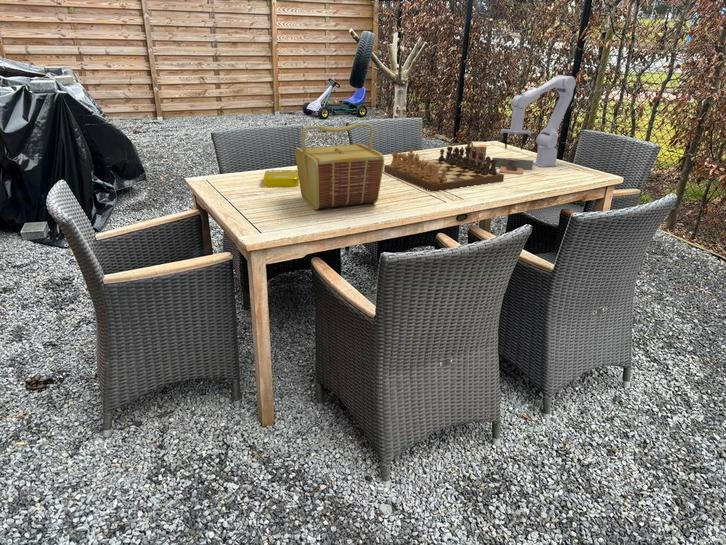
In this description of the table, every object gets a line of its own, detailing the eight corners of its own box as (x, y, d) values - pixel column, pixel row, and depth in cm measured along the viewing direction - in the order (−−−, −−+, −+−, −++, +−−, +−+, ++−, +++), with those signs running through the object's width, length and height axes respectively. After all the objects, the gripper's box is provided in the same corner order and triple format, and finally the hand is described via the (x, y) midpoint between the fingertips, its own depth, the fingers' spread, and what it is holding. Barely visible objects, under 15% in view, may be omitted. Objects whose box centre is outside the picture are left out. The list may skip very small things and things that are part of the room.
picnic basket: (314, 215, 189) (311, 132, 176) (294, 196, 210) (290, 121, 197) (385, 207, 199) (388, 128, 187) (359, 189, 221) (360, 117, 208)
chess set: (432, 193, 219) (435, 158, 213) (384, 172, 251) (385, 141, 245) (503, 182, 237) (507, 150, 231) (449, 164, 269) (452, 135, 263)
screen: (532, 169, 259) (533, 160, 257) (532, 169, 258) (533, 161, 256) (491, 166, 264) (492, 157, 262) (491, 166, 263) (492, 157, 261)
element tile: (263, 188, 222) (263, 177, 220) (265, 179, 236) (265, 169, 234) (298, 187, 224) (298, 176, 222) (298, 178, 237) (298, 168, 235)
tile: (522, 169, 258) (523, 167, 258) (522, 174, 249) (522, 173, 248) (500, 167, 261) (500, 166, 261) (499, 172, 252) (499, 171, 251)
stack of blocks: (467, 161, 274) (469, 137, 269) (478, 161, 274) (481, 138, 268) (471, 171, 255) (473, 145, 250) (483, 171, 254) (486, 146, 249)
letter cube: (516, 168, 256) (518, 158, 254) (516, 170, 252) (517, 160, 250) (506, 167, 258) (507, 157, 256) (506, 170, 253) (507, 159, 251)
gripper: (501, 121, 251) (498, 149, 257) (532, 123, 248) (528, 151, 253) (502, 119, 257) (499, 146, 263) (532, 120, 254) (528, 148, 259)
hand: (513, 148), depth 259 cm, fingers open, 7 cm apart
